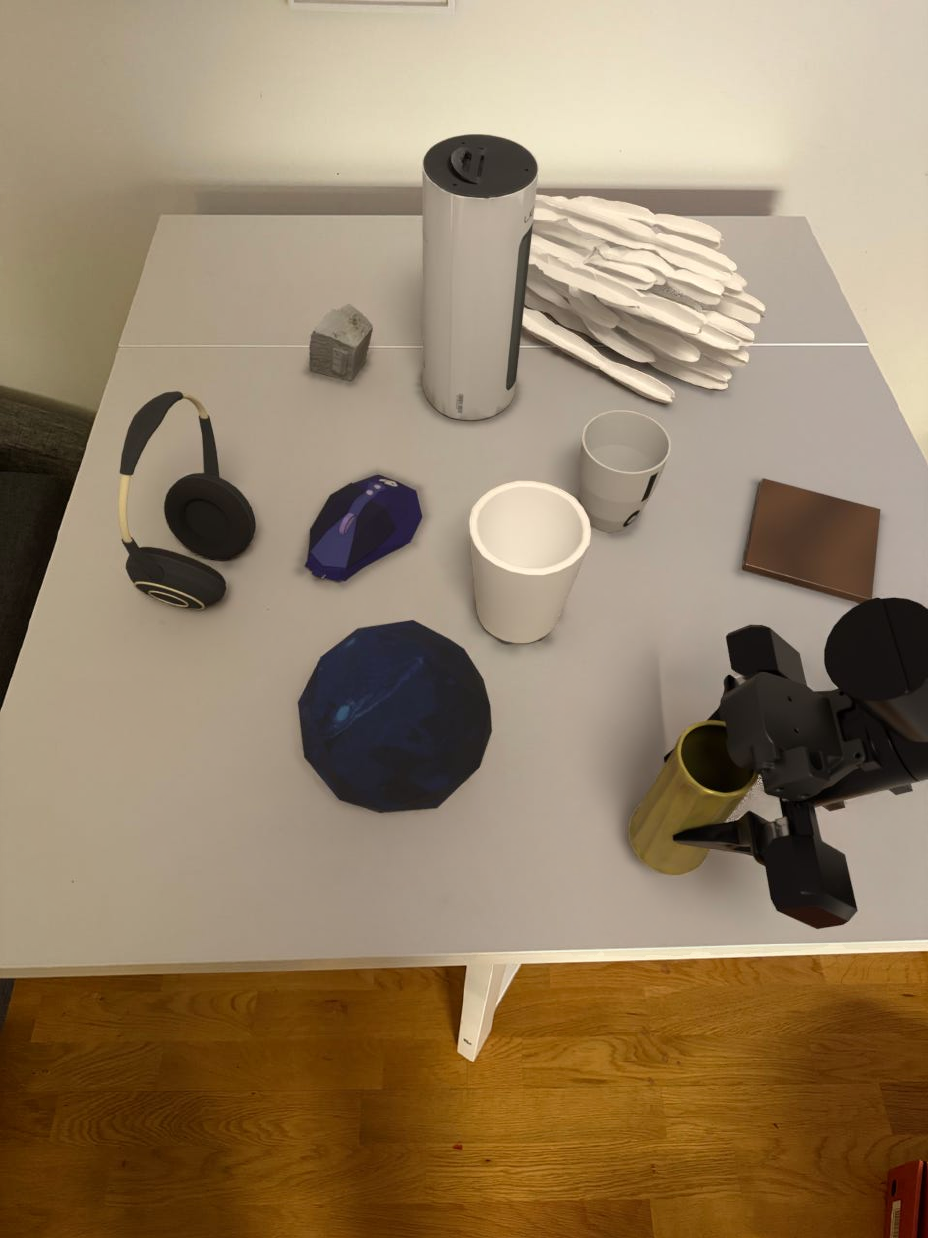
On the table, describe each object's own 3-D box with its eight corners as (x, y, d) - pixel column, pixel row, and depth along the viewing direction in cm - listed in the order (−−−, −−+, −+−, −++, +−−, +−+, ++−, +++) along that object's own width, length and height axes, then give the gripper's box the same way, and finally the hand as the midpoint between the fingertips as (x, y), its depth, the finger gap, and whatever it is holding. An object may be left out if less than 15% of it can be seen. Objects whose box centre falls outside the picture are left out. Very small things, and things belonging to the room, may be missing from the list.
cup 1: (581, 652, 78) (605, 566, 67) (473, 666, 77) (480, 581, 66) (556, 565, 83) (575, 473, 73) (456, 577, 82) (459, 485, 72)
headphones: (125, 627, 78) (42, 471, 61) (194, 507, 86) (138, 341, 69) (214, 649, 77) (154, 497, 60) (276, 526, 85) (238, 362, 68)
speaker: (498, 433, 93) (519, 201, 71) (407, 409, 95) (401, 175, 73) (526, 371, 99) (553, 139, 77) (440, 349, 100) (443, 116, 78)
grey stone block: (295, 386, 95) (290, 316, 89) (330, 353, 101) (328, 285, 95) (356, 402, 93) (355, 331, 88) (388, 367, 100) (389, 299, 94)
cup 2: (637, 554, 84) (659, 483, 76) (557, 530, 86) (571, 458, 77) (656, 496, 89) (679, 423, 80) (580, 474, 90) (595, 400, 82)
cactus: (415, 258, 94) (708, 388, 83) (498, 109, 93) (804, 220, 82) (461, 326, 110) (711, 442, 99) (532, 200, 109) (791, 303, 98)
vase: (672, 893, 63) (726, 823, 51) (611, 832, 66) (649, 751, 54) (725, 840, 65) (788, 761, 54) (664, 783, 68) (712, 695, 56)
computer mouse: (441, 500, 87) (442, 472, 84) (363, 605, 80) (360, 579, 77) (363, 466, 90) (360, 438, 86) (280, 565, 82) (274, 539, 79)
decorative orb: (247, 810, 63) (361, 747, 53) (282, 637, 71) (385, 554, 61) (405, 858, 70) (532, 810, 60) (420, 696, 79) (533, 630, 69)
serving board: (876, 515, 88) (880, 508, 87) (867, 605, 82) (872, 599, 81) (759, 484, 90) (762, 477, 89) (741, 570, 84) (744, 564, 83)
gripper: (806, 544, 51) (592, 638, 60) (885, 855, 41) (611, 912, 50) (883, 622, 58) (679, 696, 67) (967, 907, 47) (712, 949, 56)
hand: (671, 799), depth 60 cm, fingers closed on vase, 5 cm apart
